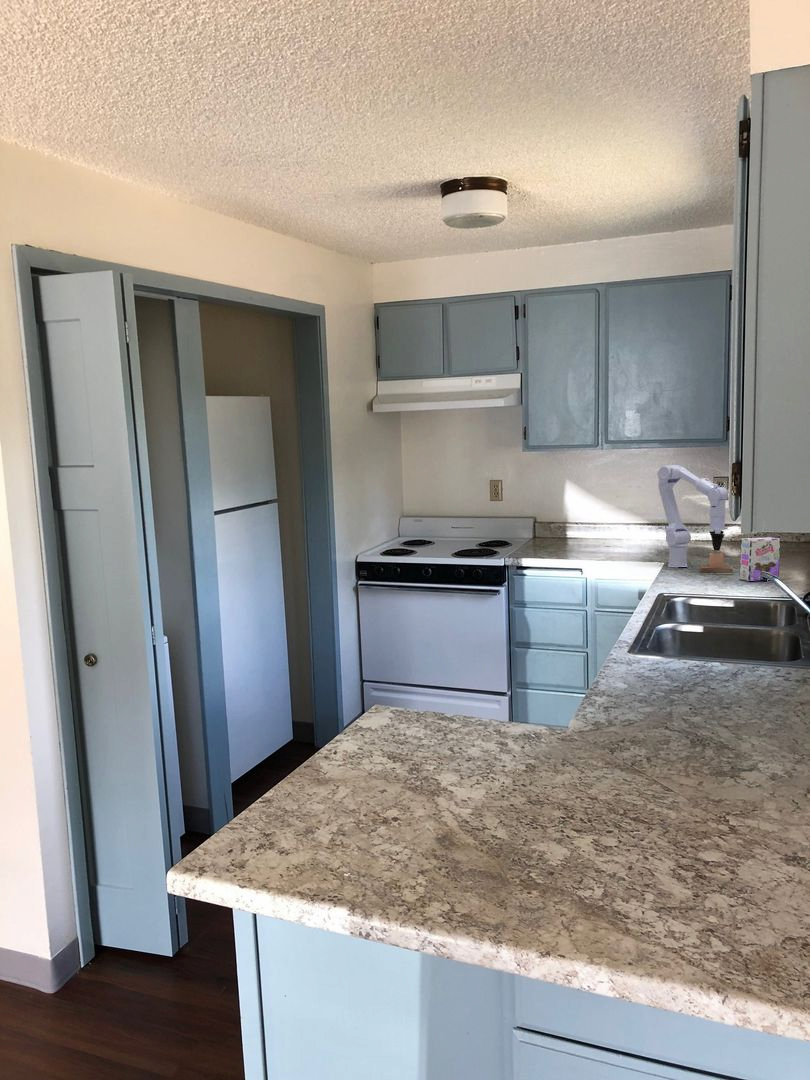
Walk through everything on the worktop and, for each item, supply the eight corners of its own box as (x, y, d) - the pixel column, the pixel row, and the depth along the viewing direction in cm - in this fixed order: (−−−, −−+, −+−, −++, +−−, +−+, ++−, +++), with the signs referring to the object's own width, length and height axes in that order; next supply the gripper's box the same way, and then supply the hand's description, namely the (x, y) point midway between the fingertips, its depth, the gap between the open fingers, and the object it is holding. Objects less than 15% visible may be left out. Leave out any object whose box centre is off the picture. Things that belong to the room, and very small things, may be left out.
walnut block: (699, 570, 353) (700, 563, 352) (730, 571, 349) (730, 564, 349) (700, 575, 341) (701, 567, 341) (732, 576, 338) (732, 568, 337)
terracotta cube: (709, 565, 348) (709, 553, 347) (721, 565, 347) (722, 553, 346) (710, 566, 343) (710, 554, 343) (723, 567, 342) (723, 555, 341)
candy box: (748, 582, 319) (750, 539, 317) (738, 580, 324) (740, 538, 323) (779, 580, 322) (781, 538, 321) (769, 578, 328) (770, 536, 326)
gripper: (728, 518, 334) (727, 551, 336) (726, 515, 348) (725, 547, 350) (710, 518, 337) (709, 551, 338) (708, 515, 350) (707, 547, 352)
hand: (716, 549), depth 344 cm, fingers open, 7 cm apart
